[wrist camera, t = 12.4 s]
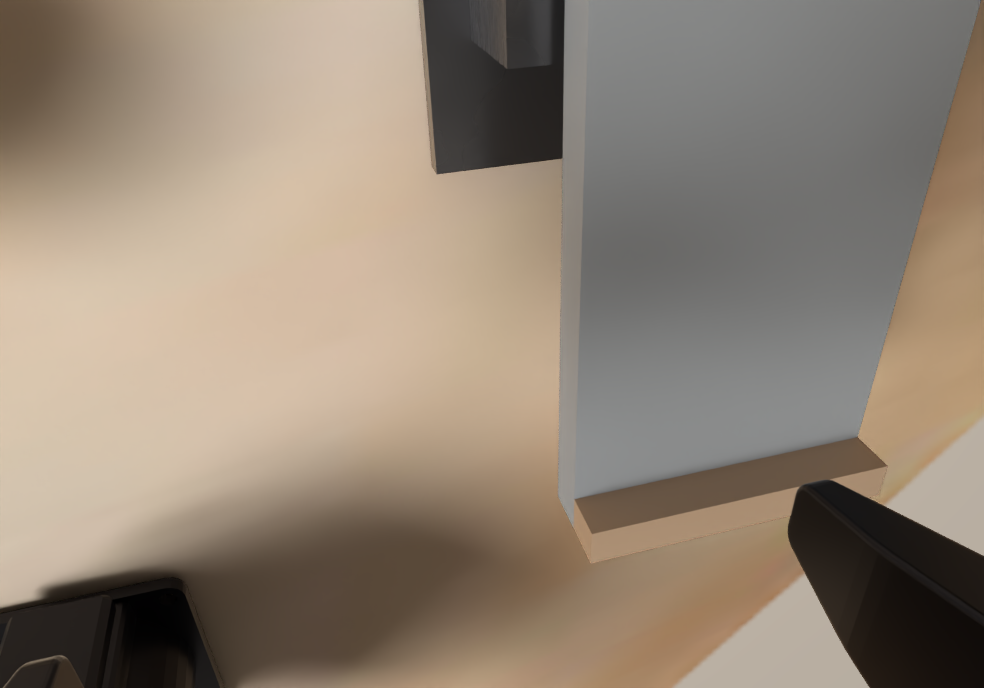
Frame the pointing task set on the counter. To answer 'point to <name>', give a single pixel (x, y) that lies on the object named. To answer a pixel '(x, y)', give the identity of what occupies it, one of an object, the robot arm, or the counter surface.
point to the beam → (735, 248)
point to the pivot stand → (493, 81)
